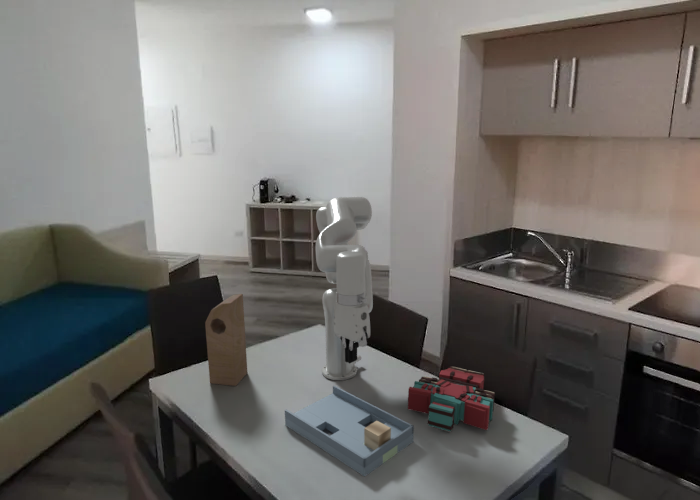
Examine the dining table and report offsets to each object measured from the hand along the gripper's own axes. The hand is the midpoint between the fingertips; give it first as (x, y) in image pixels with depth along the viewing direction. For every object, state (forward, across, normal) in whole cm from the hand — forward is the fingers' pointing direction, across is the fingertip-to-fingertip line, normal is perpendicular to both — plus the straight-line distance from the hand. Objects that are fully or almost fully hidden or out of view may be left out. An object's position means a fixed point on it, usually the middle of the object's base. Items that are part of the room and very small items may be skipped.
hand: (351, 360), depth 136 cm
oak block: (+20, -11, +1) cm, 23 cm away
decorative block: (+24, +54, +6) cm, 60 cm away
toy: (+24, -14, -32) cm, 42 cm away
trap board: (+23, +1, 0) cm, 23 cm away
